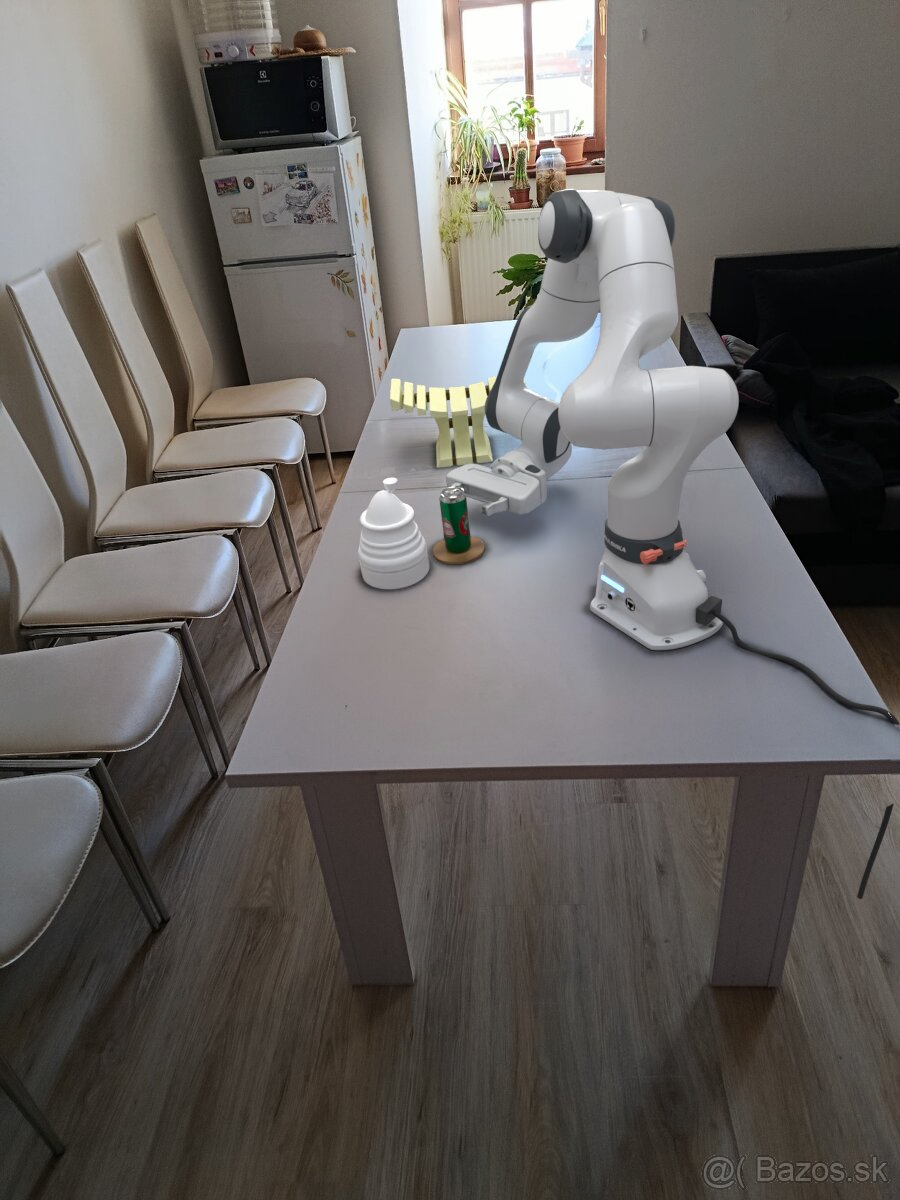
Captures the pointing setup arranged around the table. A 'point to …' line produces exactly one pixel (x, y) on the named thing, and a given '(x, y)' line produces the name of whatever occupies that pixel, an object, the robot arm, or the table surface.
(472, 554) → the cork coaster
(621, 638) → the table surface
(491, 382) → the slatted curved stool
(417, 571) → the honey pot
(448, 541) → the soda can
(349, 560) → the table surface
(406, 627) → the table surface
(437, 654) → the table surface
